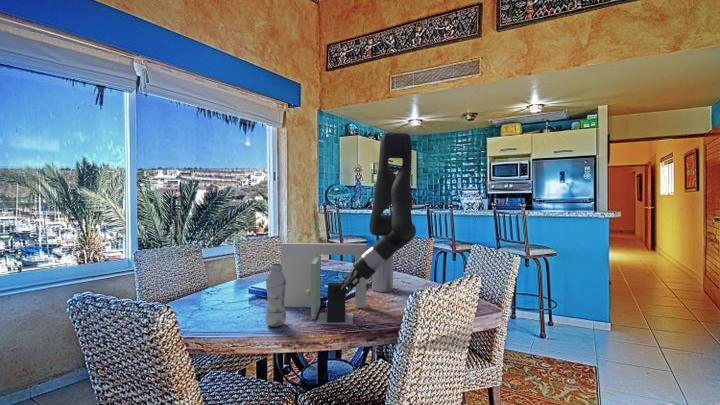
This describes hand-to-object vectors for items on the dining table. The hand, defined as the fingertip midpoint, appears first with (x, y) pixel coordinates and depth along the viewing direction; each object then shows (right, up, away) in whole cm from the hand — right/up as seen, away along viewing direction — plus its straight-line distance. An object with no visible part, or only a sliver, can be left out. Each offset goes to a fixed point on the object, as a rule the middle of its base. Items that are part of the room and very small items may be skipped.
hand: (336, 295), depth 131 cm
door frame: (-6, -8, +5) cm, 11 cm away
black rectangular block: (0, -8, 0) cm, 8 cm away
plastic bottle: (-19, -9, -6) cm, 22 cm away
